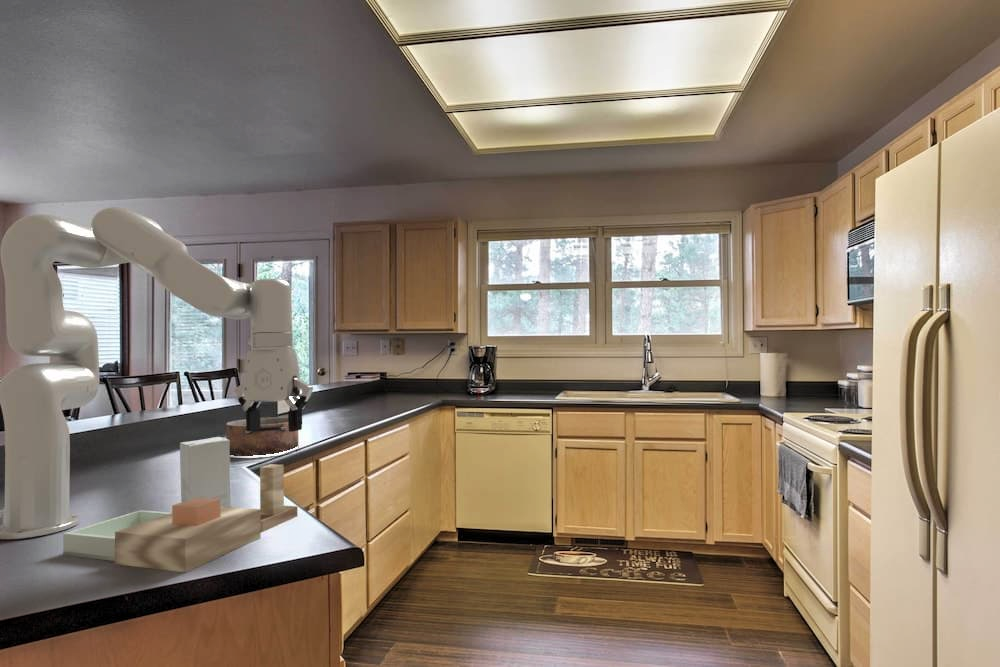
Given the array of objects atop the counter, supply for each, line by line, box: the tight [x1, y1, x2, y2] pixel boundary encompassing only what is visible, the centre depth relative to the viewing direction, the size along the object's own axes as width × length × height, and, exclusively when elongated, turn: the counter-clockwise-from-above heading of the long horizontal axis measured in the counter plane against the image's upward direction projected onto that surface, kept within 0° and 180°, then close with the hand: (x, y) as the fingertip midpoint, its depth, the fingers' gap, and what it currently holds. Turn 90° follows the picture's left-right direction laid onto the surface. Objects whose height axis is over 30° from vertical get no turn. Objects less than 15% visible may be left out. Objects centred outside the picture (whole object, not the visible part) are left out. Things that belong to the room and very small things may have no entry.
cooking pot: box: [225, 417, 299, 456], centre depth 186 cm, size 30×22×11 cm
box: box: [62, 509, 172, 562], centre depth 96 cm, size 12×14×4 cm
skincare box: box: [179, 436, 232, 507], centre depth 117 cm, size 8×6×15 cm
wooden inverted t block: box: [259, 463, 298, 533], centre depth 107 cm, size 4×10×11 cm, turn 163°
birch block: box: [114, 506, 261, 573], centre depth 93 cm, size 14×16×5 cm
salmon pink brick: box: [171, 498, 221, 526], centre depth 92 cm, size 5×5×3 cm
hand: (274, 430), depth 108 cm, fingers open, 9 cm apart
